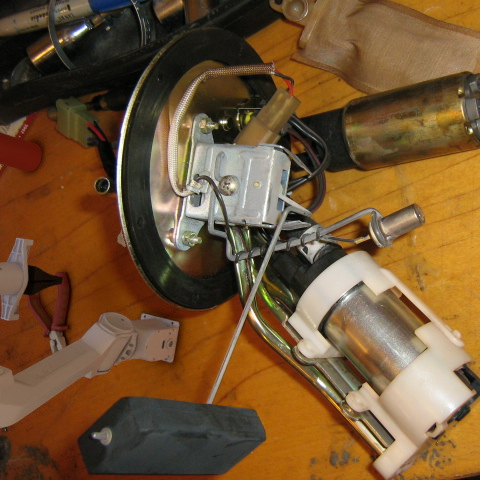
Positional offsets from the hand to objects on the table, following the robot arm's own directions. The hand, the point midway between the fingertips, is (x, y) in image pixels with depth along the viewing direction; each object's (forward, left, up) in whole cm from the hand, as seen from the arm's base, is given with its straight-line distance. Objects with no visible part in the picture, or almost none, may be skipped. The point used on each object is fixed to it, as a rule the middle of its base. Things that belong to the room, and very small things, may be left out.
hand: (58, 279), depth 90 cm
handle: (-6, -9, -9) cm, 14 cm away
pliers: (+12, +11, -11) cm, 19 cm away
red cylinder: (+29, -26, -10) cm, 40 cm away
